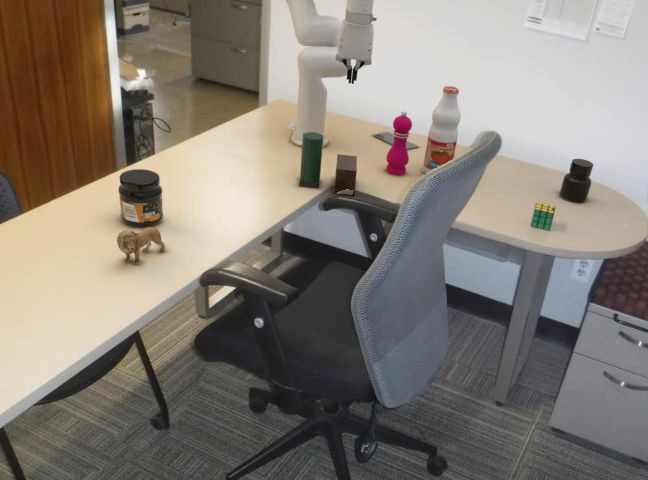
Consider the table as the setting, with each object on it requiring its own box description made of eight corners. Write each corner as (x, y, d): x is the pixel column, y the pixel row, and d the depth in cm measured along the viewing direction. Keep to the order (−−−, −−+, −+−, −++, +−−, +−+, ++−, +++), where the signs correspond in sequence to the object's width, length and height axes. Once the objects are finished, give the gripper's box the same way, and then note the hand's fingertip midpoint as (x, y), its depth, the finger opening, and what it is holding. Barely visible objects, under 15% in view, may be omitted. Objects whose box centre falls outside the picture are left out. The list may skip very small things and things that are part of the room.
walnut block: (333, 194, 214) (336, 168, 210) (335, 178, 224) (337, 154, 220) (353, 196, 214) (356, 170, 210) (354, 180, 224) (356, 156, 220)
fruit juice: (442, 166, 244) (457, 83, 228) (455, 177, 237) (471, 92, 221) (417, 168, 240) (431, 83, 225) (430, 179, 233) (444, 92, 218)
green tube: (303, 194, 217) (279, 148, 209) (304, 186, 222) (281, 141, 214) (341, 179, 215) (318, 131, 206) (341, 171, 220) (319, 124, 211)
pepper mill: (407, 169, 238) (416, 109, 227) (405, 177, 232) (415, 116, 221) (385, 166, 238) (393, 106, 227) (383, 174, 232) (392, 113, 221)
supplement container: (125, 231, 180) (122, 186, 173) (117, 212, 187) (113, 169, 180) (168, 226, 184) (166, 183, 178) (158, 209, 192) (156, 166, 185)
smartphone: (403, 149, 252) (372, 134, 261) (403, 151, 252) (372, 135, 261) (418, 146, 257) (387, 131, 266) (418, 147, 257) (387, 132, 266)
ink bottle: (589, 197, 237) (600, 162, 230) (584, 205, 230) (595, 170, 223) (561, 189, 240) (570, 154, 233) (555, 197, 233) (564, 162, 226)
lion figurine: (132, 273, 163) (129, 238, 158) (112, 266, 165) (109, 231, 160) (170, 248, 175) (169, 214, 170) (152, 242, 176) (150, 208, 172)
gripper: (384, 18, 208) (375, 82, 218) (332, 11, 207) (326, 75, 217) (384, 24, 202) (376, 89, 212) (331, 17, 200) (325, 82, 211)
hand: (351, 82), depth 214 cm, fingers closed
